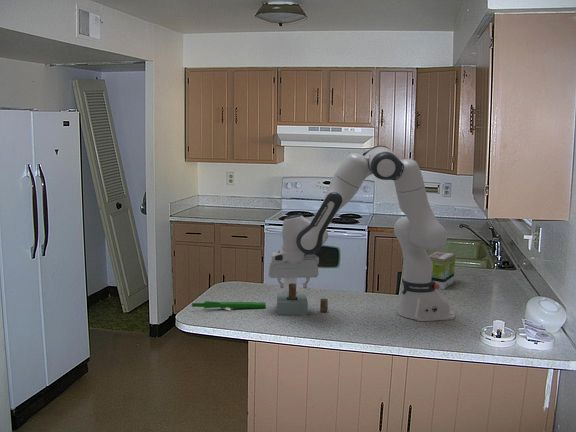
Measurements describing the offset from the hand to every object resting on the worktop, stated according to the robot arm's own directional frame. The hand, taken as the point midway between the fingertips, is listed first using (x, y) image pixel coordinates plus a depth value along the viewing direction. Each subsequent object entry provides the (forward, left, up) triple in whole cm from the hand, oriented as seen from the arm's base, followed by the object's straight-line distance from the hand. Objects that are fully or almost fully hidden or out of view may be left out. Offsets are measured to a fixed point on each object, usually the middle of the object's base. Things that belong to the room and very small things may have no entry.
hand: (293, 287), depth 247 cm
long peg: (0, +1, -9) cm, 9 cm away
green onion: (+26, 0, -10) cm, 28 cm away
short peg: (-12, +2, -9) cm, 16 cm away
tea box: (-71, -39, -10) cm, 82 cm away
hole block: (+1, +1, -9) cm, 9 cm away
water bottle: (+1, -19, -10) cm, 22 cm away
